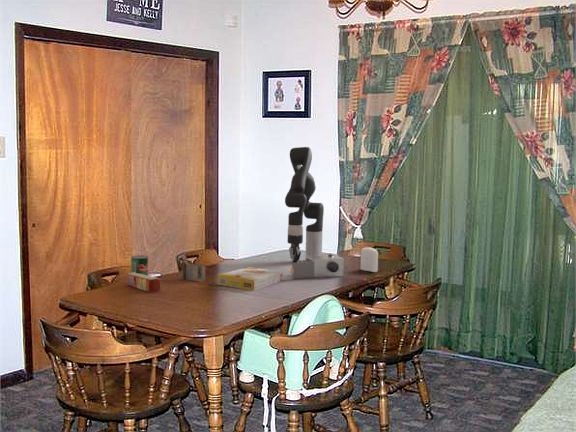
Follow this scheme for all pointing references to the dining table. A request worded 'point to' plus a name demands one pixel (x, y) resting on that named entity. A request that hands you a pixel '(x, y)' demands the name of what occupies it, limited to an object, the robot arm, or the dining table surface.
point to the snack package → (143, 282)
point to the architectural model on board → (193, 272)
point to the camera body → (327, 265)
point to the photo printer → (369, 259)
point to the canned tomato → (139, 264)
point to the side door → (302, 269)
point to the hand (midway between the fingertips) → (294, 268)
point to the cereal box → (249, 278)
